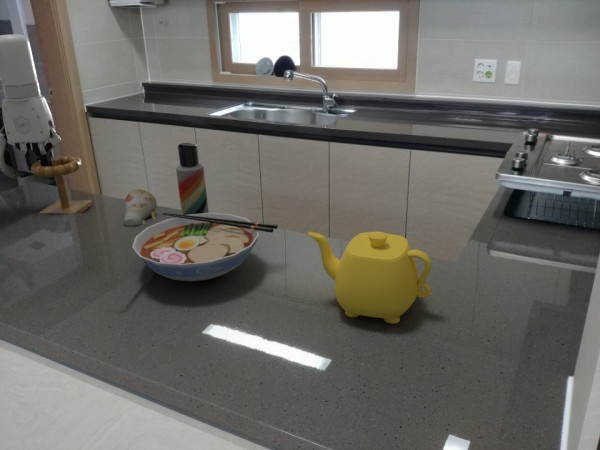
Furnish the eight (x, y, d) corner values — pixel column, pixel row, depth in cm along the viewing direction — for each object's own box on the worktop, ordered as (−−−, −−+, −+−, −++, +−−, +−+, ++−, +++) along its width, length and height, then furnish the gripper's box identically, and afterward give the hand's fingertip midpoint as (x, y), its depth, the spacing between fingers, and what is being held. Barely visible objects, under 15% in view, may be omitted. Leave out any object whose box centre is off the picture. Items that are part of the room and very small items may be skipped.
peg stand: (39, 217, 129) (26, 164, 124) (59, 204, 138) (47, 154, 132) (74, 217, 128) (63, 164, 123) (92, 204, 137) (82, 154, 131)
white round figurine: (116, 234, 119) (109, 190, 120) (139, 235, 128) (132, 195, 129) (146, 226, 117) (138, 182, 118) (167, 228, 127) (160, 188, 128)
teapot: (424, 338, 79) (429, 260, 74) (296, 317, 85) (292, 244, 80) (435, 292, 90) (440, 222, 85) (322, 276, 97) (320, 211, 92)
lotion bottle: (179, 232, 118) (167, 143, 110) (200, 225, 121) (190, 138, 114) (194, 239, 114) (182, 148, 106) (215, 231, 118) (206, 142, 110)
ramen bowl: (106, 287, 96) (98, 246, 93) (183, 238, 115) (178, 202, 112) (225, 316, 86) (220, 271, 83) (287, 256, 105) (285, 218, 102)
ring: (22, 178, 125) (19, 168, 124) (48, 164, 135) (46, 154, 134) (67, 178, 123) (65, 168, 122) (90, 164, 133) (88, 154, 133)
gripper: (-22, 95, 120) (0, 174, 127) (46, 93, 118) (64, 174, 125) (-1, 90, 127) (18, 165, 134) (64, 88, 125) (80, 164, 132)
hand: (40, 168), depth 129 cm, fingers closed on ring, 2 cm apart
